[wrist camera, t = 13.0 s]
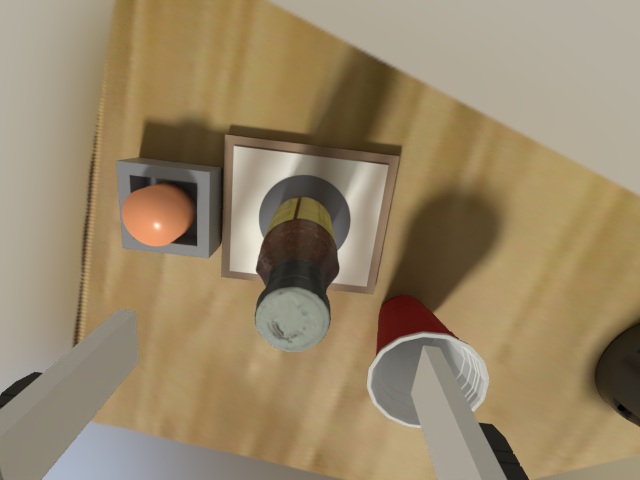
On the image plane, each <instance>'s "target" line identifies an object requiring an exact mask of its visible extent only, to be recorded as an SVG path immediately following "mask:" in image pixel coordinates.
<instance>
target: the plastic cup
mask: <svg viewBox="0 0 640 480" xmlns="http://www.w3.org/2000/svg"><path fill="white" fill-rule="evenodd" d="M423 346H432V347H440V349H441V351H442V353H443V355H444V357H445V359H446V361H447V363H448V365H449V366H450V368H451V370H452V372H453V374H454V376H455V378H456V380H457V382H458V384H459V386H460V388H461V390H462V392H463V394H464V396H465V398H466V400H467V402H468V404H469V406H470V408H471V410H472V412H474V411H475V410H476V408H477V407H478V406H479V405H480V404H481V403H482V402H483V400H484V399H485V395H486V392H487V388H488V384H489V377H488V373H487V369H486V365H485V362H484V361H483V359H482V358H481V357H480V356H479V355H478V354H477V353H476V352H475V350H474V349H473V348H472V347H471V346H470V345H469V344H468V343H466V342H463V341H461V340H459V338H458V337H456V336H455V335H454V334H453V333H452V332H450V331H449V330H448V329H447V328H446V327H445V326H444V325H443V324H442V323H441V321H440V320H439V319H438V318H437V317H436V316H435V315H434V314H433V313H432V312H431V311H430V310H429V309H427V308H426V307H425V306H424V305H423V304H422V303H421V302H420V301H419V300H417V299H415V298H413V297H410V296H397V297H394V298H391V299H390V300H388V301H387V302H386V303H384V305H383V307H382V308H381V310H380V313H379V319H378V333H377V351H376V357H375V359H374V360H373V362H372V363H371V365H370V367H369V372H368V381H367V388H368V391H369V394H370V396H371V399H372V401H373V404H374V405H375V406H376V407H377V408H378V409H379V410H380V411H381V412H382V413H383V414H384V415H385V416H386V417H387V418H389V419H392V420H394V421H396V422H398V423H401V424H403V425H405V426H408V427H417V428H421V425H420V422H419V418H418V415H417V412H416V409H415V405H414V402H413V399H412V396H411V391H412V387H413V383H414V379H415V376H416V372H417V368H418V364H419V360H420V356H421V352H422V348H423Z"/></svg>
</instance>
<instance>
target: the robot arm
mask: <svg viewBox="0 0 640 480" xmlns="http://www.w3.org/2000/svg"><path fill="white" fill-rule="evenodd" d="M138 362H139V356H138V341H137V325H136V311H129V310H120V309H118V310H117V311H116V312H115V313H114V314H113V315H111V316H110V317H109V318H108V319H107V320H105V321H104V322H103V323H102V324H101V325H100V326H98V327H97V328H96V329H95V330H94V331H92V332H91V333H90V334H89V335H88V336H87V337H85V338H84V339H83V340H82V341H81V342H79V343H78V344H77V345H76V346H75V347H74V348H72V349H71V350H70V351H69V352H68V353H67V354H65V355H64V356H63V357H62V358H61V359H59V360H58V361H57V362H56V363H55V364H53V365H52V366H51V367H50V368H49V369H48V370H46V371H45V372H44V373H39V372H34V373H32V374H30V375H28V376H26V377H24V378H22V379H21V380H18V381H16V382H15V383H14V384H12V385H11V386H10V387H9V388H7V389H6V390H5V391H4V392H2V394H1V395H0V480H42V478H43V477H44V476H45V475H46V474H47V472H48V471H49V470H50V469H51V468H52V466H53V465H54V464H55V463H56V461H57V460H58V459H59V458H60V457H61V455H62V454H63V453H64V452H65V451H66V449H67V448H68V447H69V446H70V445H71V443H72V442H73V441H74V440H75V439H76V437H77V436H78V435H79V434H80V432H81V431H82V430H83V429H84V427H85V426H86V425H87V424H88V423H89V422H90V420H91V419H92V418H93V417H94V416H95V414H96V413H97V412H98V411H99V409H100V408H101V407H102V406H103V405H104V403H105V402H106V401H107V400H108V399H109V397H110V396H111V395H112V394H113V393H114V391H115V390H116V389H117V388H118V386H119V385H120V384H121V383H122V382H123V380H124V379H125V378H126V377H127V376H128V374H129V373H130V372H131V371H132V370H133V368H134V367H135V366H136V365H137V363H138ZM596 386H597V389H598V392H599V394H600V395H601V397H602V398H603V399H604V400H605V401H606V402H607V403H608V404H609V405H610V406H611V407H612V408H613V409H614V410H615V411H616V412H617V413H618V414H619V415H621V416H622V417H624V418H625V419H627V420H628V421H630V422H632V423H634V424H636V425H637V426H639V427H640V324H639V325H637V326H635V327H633V328H631V329H629V330H628V331H626V332H625V333H623V334H622V335H621V336H619V337H618V338H617V339H616V340H615V341H614V342H613V343H612V344H611V345H610V346H609V347H608V348H607V350H606V351H605V352H604V354H603V356H602V357H601V359H600V361H599V364H598V366H597V370H596ZM411 396H412V399H413V402H414V405H415V409H416V412H417V415H418V418H419V422H420V425H421V428H422V431H423V435H424V438H425V441H426V444H427V448H428V451H429V454H430V457H431V460H432V464H433V467H434V470H435V473H436V477H437V480H529V479H528V477H527V475H526V473H525V472H524V470H523V468H522V467H521V466H520V463H519V461H518V459H517V458H516V456H515V454H513V451H512V449H511V447H510V445H509V444H508V442H507V440H506V438H505V437H504V436H503V435H502V434H501V433H500V432H499V431H498V430H497V429H496V428H495V427H494V426H493V425H492V424H485V423H478V421H477V420H476V418H475V416H474V414H473V412H472V410H471V408H470V406H469V404H468V402H467V400H466V398H465V396H464V394H463V392H462V390H461V388H460V386H459V384H458V382H457V380H456V378H455V376H454V374H453V372H452V370H451V368H450V366H449V365H448V363H447V361H446V359H445V357H444V355H443V353H442V351H441V349H440V347H432V346H423V348H422V352H421V356H420V360H419V364H418V368H417V372H416V376H415V379H414V383H413V387H412V391H411Z"/></svg>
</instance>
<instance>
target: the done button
mask: <svg viewBox="0 0 640 480" xmlns="http://www.w3.org/2000/svg"><path fill="white" fill-rule="evenodd" d="M195 218H196V208H195V204H194V202H193V199H192V198H191V196H190V195H189V194H188V193H187V192H186V191H185V190H184V189H183V188H181V187H180V186H178V185H176V184H173V183H167V182H163V183H157V184H154V185H151V186H148V187H145V188H142V189H139V190H136V191H134V192H132V193H131V194H130V195H129V196H128V197H127V198H126V200H125V201H124V203H123V207H122V219H123V222H124V225H125V227H126V229H127V230H128V232H129V233H130V234H131V235H132V236H133V237H134V238H135V239H137V240H138V241H140V242H141V243H144V244H146V245H149V246H164V245H167V244H169V243H171V242H173V241H174V240H175V239H177V238H178V237H179V236H181V235H182V234H184V233H185V232H186V231H188V230H189V229H190V228H191V227H192V225H193V223H194V221H195Z"/></svg>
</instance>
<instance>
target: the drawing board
mask: <svg viewBox="0 0 640 480" xmlns="http://www.w3.org/2000/svg"><path fill="white" fill-rule="evenodd" d="M399 158H400V156H397V155H389V154H380V153H372V152H364V151H356V150H348V149H340V148H332V147H324V146H316V145H308V144H300V143H292V142H284V141H276V140H268V139H260V138H252V137H244V136H236V135H228V134H227V135H225V150H224V190H223V229H222V269H221V277H226V278H235V279H244V280H252V281H261V282H263V280H262V279H261V277H260V276H259V275H258V274H257V273H256V266H257V261H258V256H259V253H260V248H261V245H262V242H263V239H264V237H265V235H266V233H267V230H268V228H269V226H270V223H271V221H272V218H273V216H274V214H275V212H276V211H277V209H278V208H279V206H280V205H281V204H283V203H284V202H286V201H287V200H289V199H291V198H293V197H297V196H303V197H308V198H312V199H314V200H316V201H319V202H320V203H321V204H322V205H323V207H324V208H325V209H326V210H327V212H328V213H329V215H330V218H331V223H332V228H333V232H334V237H335V241H336V246H337V252H338V262H339V266H340V270H339V273H338V276H337V277H336V278H335V279H334V281H333V282H332V283H331V284H330V285H329V287H328V288H327V289H330V290H338V291H347V292H356V293H364V294H374V288H375V283H376V278H377V273H378V268H379V262H380V257H381V252H382V247H383V241H384V236H385V231H386V226H387V220H388V215H389V210H390V205H391V200H392V194H393V189H394V184H395V179H396V173H397V168H398V163H399Z"/></svg>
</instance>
